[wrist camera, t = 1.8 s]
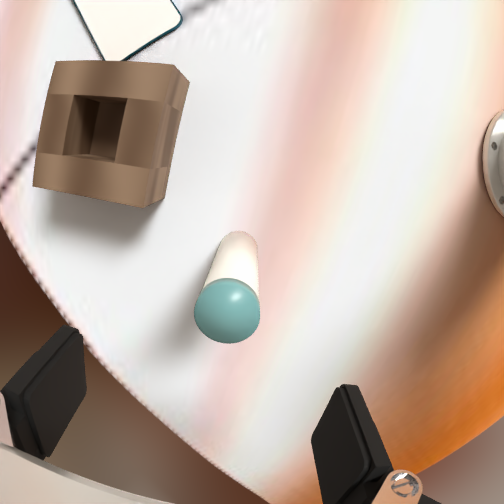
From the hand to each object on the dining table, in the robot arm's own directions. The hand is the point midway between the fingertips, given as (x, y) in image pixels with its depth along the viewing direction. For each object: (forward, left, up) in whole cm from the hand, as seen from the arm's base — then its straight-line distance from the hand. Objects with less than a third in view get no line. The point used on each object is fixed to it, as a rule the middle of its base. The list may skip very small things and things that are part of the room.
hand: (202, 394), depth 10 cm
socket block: (+12, -8, -18) cm, 23 cm away
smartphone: (+17, -22, -18) cm, 33 cm away
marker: (0, 0, -18) cm, 18 cm away
